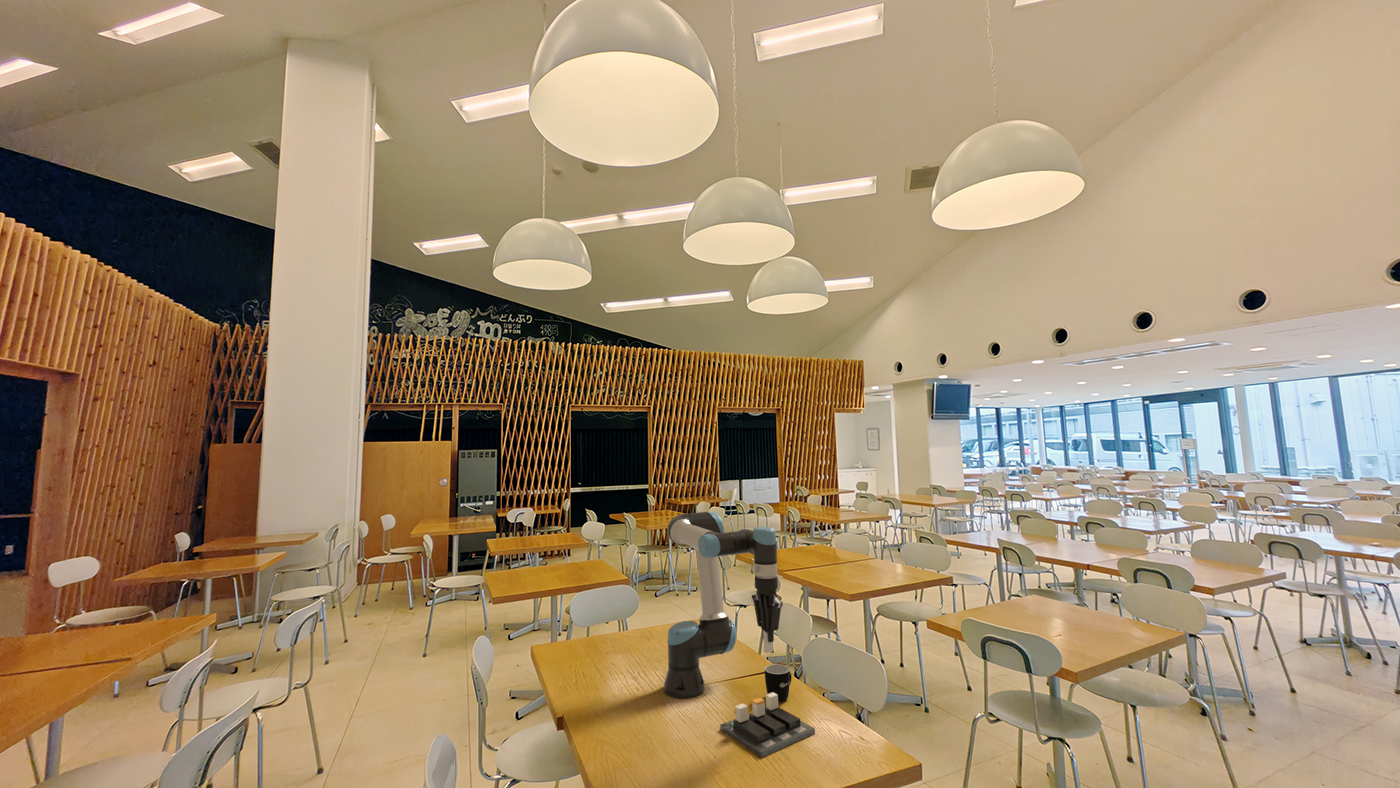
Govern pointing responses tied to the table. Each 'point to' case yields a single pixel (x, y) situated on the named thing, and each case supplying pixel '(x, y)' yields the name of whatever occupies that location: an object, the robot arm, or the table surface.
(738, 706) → the block
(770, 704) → the breaker far
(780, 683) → the mug
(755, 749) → the panel
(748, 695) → the table surface
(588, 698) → the table surface
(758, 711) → the block
